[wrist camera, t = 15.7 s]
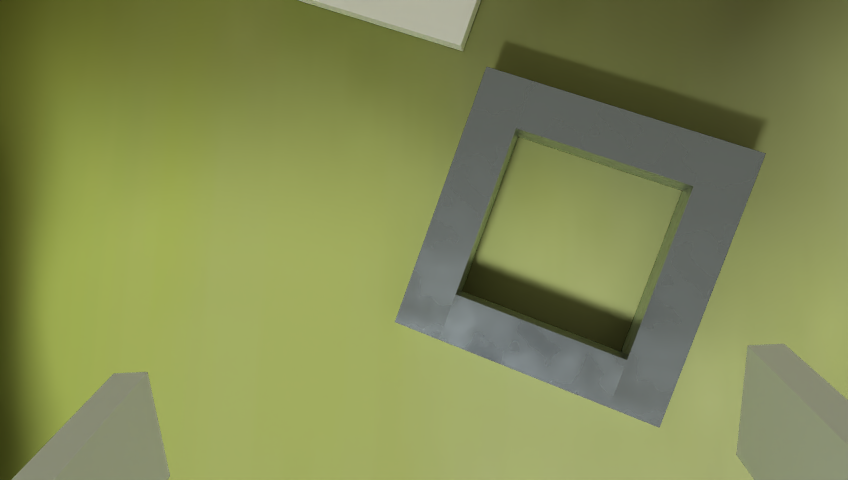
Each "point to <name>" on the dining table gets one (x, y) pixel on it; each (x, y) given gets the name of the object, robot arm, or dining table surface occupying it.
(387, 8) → the cream tile
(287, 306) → the dining table surface
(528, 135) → the metal collar
